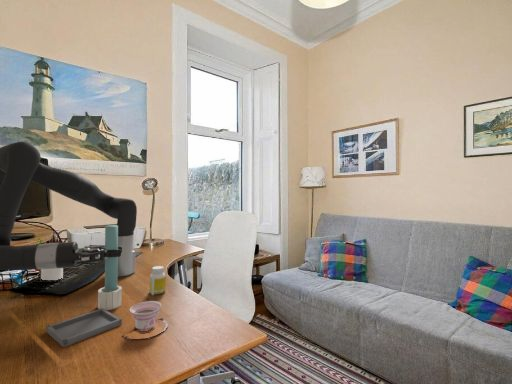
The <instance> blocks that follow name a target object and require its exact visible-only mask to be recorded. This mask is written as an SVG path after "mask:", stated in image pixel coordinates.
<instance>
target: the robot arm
mask: <svg viewBox="0 0 512 384" xmlns="http://www.w3.org/2000/svg"><path fill="white" fill-rule="evenodd" d="M41 159H42V158H41V153H40V151H39V149H38V147H36V146H35V145H34V144H32V143H30V142H27V141H15V142H11V143H9V144H7V145H3V146H0V171H2V173H5V175H4V178H3V179H2V182H1V184H0V271H5V270H14V271H15V270H17V271H30V270H35V269H55V268H63V269H65V268H66V269H67V268H74V267H76V266H77V264H78V261H80V263H81V264H86V263H87V264H88V263H94V262H101V261H102V262H103V261H105V259H106V258H107V257H108V258H109V257H118V278H119V277H120V278H121V277H127V276H129V275H132V274H133V273H136V251H135V250H134V239H135V238H134V232H135V229H136V226H137V215H138V214H137V212H138V210H137V208H138V207H137V204H136V202H135V200H133V199H130V198H123V197H115V196H112V195H110V194H108V193H105V192H104V191H102V190H101V189H100V188H99V187H98V185H96V184H95V183H94V182H93V181H92V180H90V179H88V178H86V177H84V176H82V175H80V174H79V173H75V172H73V171H69V170H66V169H61V168H56V167H52V166H49V165H46V164H43V163H41ZM31 182H32V183H35V184H37V185H40V186H42V187H44V188H46V189H48V190H51V191H52V192H55V193H57V194H60V195H62V196H64V197H66V198H68V199H71V200H72V201H75V202H77V203H80V204H82V205H86V206H89V207H92V208H94V209H96V210H98V211H100V212H102V213H104V214H105V215H107V216H109V217H110V218H112V219H116V220H117V221H116V225H117V226H118V249H117V250H108V251H107V250H105V244H103V245H102V244H101V245H100V244H99V245H97V244H89V245H85V246H84V247H81V248H79V245H78V242H76V241H70V242H69V241H65V242H63V243H53V242H49V243H41V244H40V245H35V244H26V245H11V237H12V236H11V234H12V232H13V228H14V225H15V222H16V219H17V215H18V213H19V209H20V206H21V204H22V201H23V198H24V196H25V193H26V191H27V190H28V187H29V185H30V183H31Z"/></svg>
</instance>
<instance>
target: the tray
mask: <svg viewBox="0 0 512 384" xmlns="http://www.w3.org/2000/svg"><path fill="white" fill-rule="evenodd" d="M122 320H123V319H122V318H120V317H119V316H117V315H115V314H113V313H112V312H109V310H105V309H103V308H102V309H96V310H93V311H89V312H87V313H84V314H81V315H80V314H79V315H78V316H75V317H74V316H73V317H71V318H69V319H65V320H63V321H59V322H56V323H54V324H50V325H47V326H46V327H45V329H46V331H45V332H46V334H48V335H49V337H51V338H52V339H53V340H54V341H56V342H57V343H58V344H59V345H60V346H61V347H62V348H66V347H68V346H70V345H73V344H75V343H79V342H81V341H83V340H86V339H88V338H90V337H91V338H92V337H94V336H96V335H99V334H100V333H103V332H105V331H106V332H107V331H109V330H111V329H114V328H115V327H116V328H117V327H118V326H121V325H123V324H122V323H123V321H122Z"/></svg>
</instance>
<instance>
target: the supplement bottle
mask: <svg viewBox="0 0 512 384" xmlns="http://www.w3.org/2000/svg"><path fill="white" fill-rule="evenodd" d="M164 270H165V267H164V266H162V265H161V266H160V265H155V266H153V267H152V268H151V273H150V275H149V294H150V295H151V296H160V295H163V294H165V293H166V278H167V277H166V273H165V272H164Z"/></svg>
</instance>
